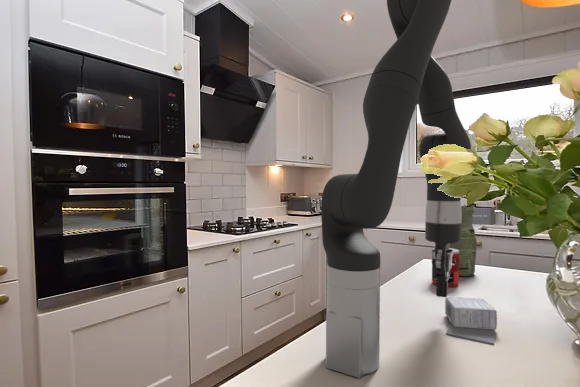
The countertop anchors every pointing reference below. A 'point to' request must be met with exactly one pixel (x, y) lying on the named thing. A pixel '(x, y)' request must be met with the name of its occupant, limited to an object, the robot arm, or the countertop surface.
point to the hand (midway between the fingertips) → (441, 295)
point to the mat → (472, 334)
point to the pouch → (466, 243)
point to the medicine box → (470, 313)
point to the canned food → (452, 270)
